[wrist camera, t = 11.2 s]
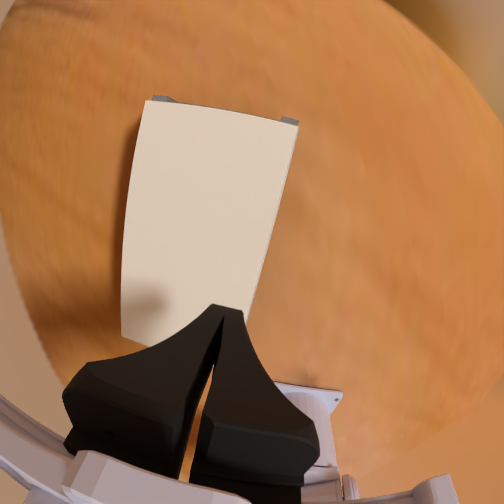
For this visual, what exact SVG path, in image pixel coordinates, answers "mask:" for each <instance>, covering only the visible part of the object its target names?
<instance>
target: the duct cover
mask: <svg viewBox="0 0 504 504" xmlns="http://www.w3.org/2000/svg"><path fill="white" fill-rule="evenodd" d="M298 132H299V127H298V126H295V125H291V124H287V123H283V122H279V121H275V120H271V119H267V118H262V117H258V116H253V115H248V114H243V113H238V112H233V111H227V110H221V109H215V108H209V107H202V106H195V105H188V104H179V103H170V102H160V101H147V100H146V102H145V106H144V110H143V115H142V119H141V123H140V128H139V132H138V137H137V142H136V147H135V153H134V158H133V164H132V170H131V177H130V183H129V190H128V198H127V206H126V215H125V225H124V237H123V251H122V270H121V336H122V337H125V338H127V339H130V340H132V341H135V342H138V343H140V344H143V345H146V346H149V347H151V346H153V345H156V344H158V343H160V342H162V341H163V340H165V339H167V338H169V337H170V336H172V335H174V334H175V333H177V332H178V331H180V330H181V329H183V328H184V327H185V326H187V325H188V324H189V323H191V322H192V321H193V320H194V319H196V318H197V317H198V316H199V315H200V314H201V313H202V312H203V311H204V310H205V309H206V308H207V307H208V306H209V305H211V304H212V303H214V304H218V305H222V306H226V307H230V308H234V309H238V310H242V312H243V313H244V321H245V325H246V324H247V321H248V317H249V314H250V310H251V306H252V303H253V299H254V296H255V292H256V289H257V285H258V281H259V278H260V274H261V271H262V267H263V263H264V260H265V256H266V252H267V249H268V245H269V242H270V238H271V234H272V230H273V227H274V223H275V219H276V216H277V212H278V208H279V204H280V201H281V197H282V193H283V189H284V186H285V182H286V178H287V174H288V170H289V166H290V163H291V159H292V155H293V151H294V147H295V143H296V139H297V135H298ZM213 367H214V365H213Z"/></svg>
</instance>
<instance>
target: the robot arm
mask: <svg viewBox="0 0 504 504" xmlns="http://www.w3.org/2000/svg"><path fill="white" fill-rule="evenodd" d="M213 365H214V367H213ZM212 368H213V375H212V382H211V386H210V389H209V392H208V396H207V399H206V402H205V406H204V409H203V412H202V418H201V423H200V428H199V433H198V439H197V444H196V450H195V454H194V458H193V462H192V466H191V470H190V478H189V483H187V482H183V481H179V480H178V479H179V474H180V470H181V466H182V462H183V458H184V454H185V450H186V446H187V443H188V439H189V435H190V431H191V427H192V424H193V420H194V416H195V412H196V409H197V406H198V403H199V401H200V398H201V396H202V393H203V391H204V388H205V386H206V383H207V381H208V378H209V375H210V373H211V370H212ZM342 397H343V393H342V392H341V391H334V390H325V389H317V388H310V387H303V386H296V385H290V384H284V383H278V382H273V381H272V380H271V378H270V377H269V375H268V374H267V372H266V371H265V369H264V368H263V366H262V364H261V362H260V361H259V359H258V357H257V355H256V353H255V350H254V348H253V346H252V343H251V341H250V338H249V335H248V332H247V329H246V325H245V321H244V313H243V312H242V310H238V309H234V308H230V307H226V306H222V305H218V304H214V303H212V304H211V305H209V306H208V307H207V308H206V309H205V310H204V311H203V312H202V313H201V314H200V315H199V316H198V317H197V318H196V319H194V320H193V321H192V322H191V323H189V324H188V325H187V326H185V327H184V328H183V329H181V330H180V331H178V332H177V333H175V334H174V335H172V336H170V337H169V338H167V339H165V340H163V341H162V342H160V343H158V344H156V345H153V346H151V347H149V348H146V349H144V350H141V351H139V352H136V353H132V354H129V355H125V356H121V357H117V358H113V359H107V360H100V361H94V362H87V363H86V364H85V366H83V367H82V368H81V369H80V370H79V371H78V373H77V374H76V375H75V376H74V378H73V379H72V380H71V382H70V383H69V384H68V385H67V387H66V388H65V390H64V391H63V394H62V399H63V403H64V406H65V409H66V411H67V413H68V416H69V418H70V420H71V423H72V425H73V428H72V429H71V431H70V433H69V435H68V436H67V437H66V439H65V438H63V437H62V436H60V435H58V434H56V433H55V432H53V431H52V430H50V429H48V428H47V427H45V426H44V425H42V424H40V423H39V422H37V421H36V420H34V419H33V418H31V417H30V416H28V415H27V414H26V413H24V412H23V411H22V410H20V409H19V408H17V407H16V406H15V405H14V404H12V403H11V402H9V401H8V400H7V399H6V398H5V397H3V396H2V395H1V394H0V468H1V469H2V470H4V471H5V472H6V473H7V474H8V475H10V476H11V477H12V478H13V479H14V480H16V481H17V482H18V483H20V484H21V485H22V486H23V487H25V488H26V489H27V490H29V491H30V492H29V493H28V496H27V497H26V499H25V501H24V503H23V504H459V501H458V498H457V495H456V492H455V489H454V486H453V484H452V481H451V478H450V475H449V474H444V475H440V476H437V477H433V478H430V479H427V480H425V481H423V482H421V483H420V484H418V485H417V486H416V487H414V488H413V489H412V490H409V491H405V492H400V493H395V494H390V495H384V496H378V497H371V498H363V499H360V498H359V492H358V487H357V483H356V480H355V479H354V478H353V477H350V476H349V475H348V474H346V475H343V476H342V482H343V486H342V489H343V497H342V489H341V482H340V474H339V467H338V466H337V461H336V454H335V447H334V441H333V434H332V428H331V422H330V415H331V413H332V412H333V410H334V409H335V407H336V406H337V404H338V403H339V402H340V400H341V399H342Z"/></svg>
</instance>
